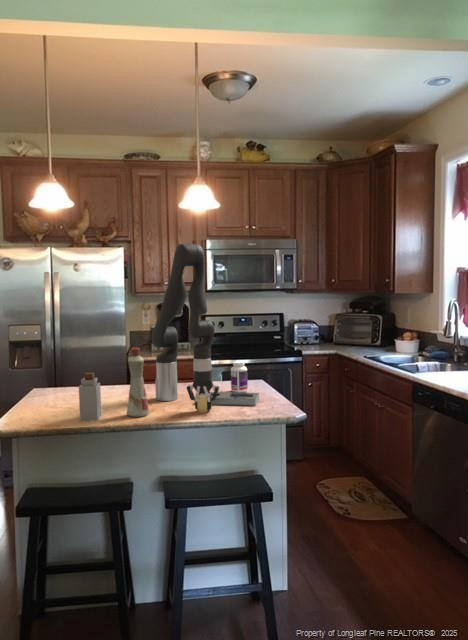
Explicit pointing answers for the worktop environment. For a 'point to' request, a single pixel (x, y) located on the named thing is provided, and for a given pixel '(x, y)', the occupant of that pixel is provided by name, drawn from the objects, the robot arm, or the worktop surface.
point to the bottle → (137, 386)
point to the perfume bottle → (89, 398)
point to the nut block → (202, 404)
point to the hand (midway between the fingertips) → (203, 410)
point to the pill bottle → (239, 377)
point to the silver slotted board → (235, 398)
